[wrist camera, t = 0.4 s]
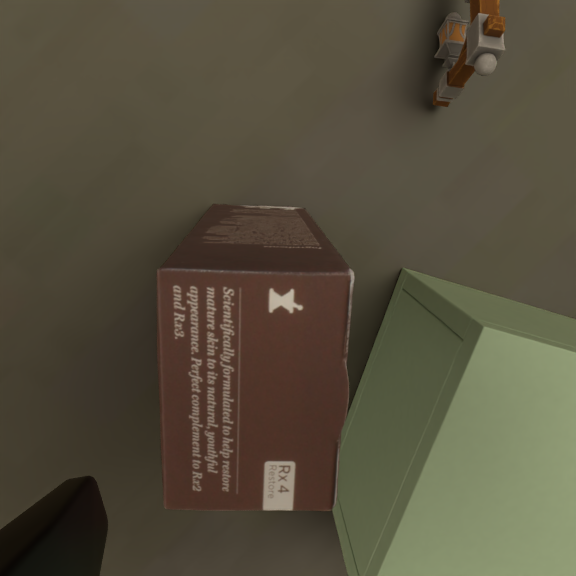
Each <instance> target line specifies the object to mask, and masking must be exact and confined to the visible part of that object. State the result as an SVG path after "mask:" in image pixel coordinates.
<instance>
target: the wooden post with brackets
mask: <svg viewBox="0 0 576 576" xmlns="http://www.w3.org/2000/svg"><path fill="white" fill-rule="evenodd" d="M465 2H467V3H470V17H471V24H470V27H469V28H468V30H467V32H466V27H467V25H468V24H469V21H467V20H461V17H460V15H459V14H458V13H456V12H455V13H450V14H449V15H448V16H447V17H446V19H445V21H444V23H443V24H442V26H441V27H440V29H439V31H438V32H437V35H438V36H439V41H440V48H439V50H438V51H437V53H436V54H435V56H434V58H439V59H445V61H444V62H445V63H444V64H443V65H442V67H447V68H448V70H447V71H446V73H445V74H444V76H443V77H442V79H441V80H440V82H439V86H438V87H437V90H436V91H435V92H434V93H433V105H437V106H444V107H448V105H449V104H450V102H452V101H453V98H454V99H456V98H457V97H458V96H459V94H460V93H461V92H462V91H463V89H464V84H465V83H466V81H467V80H468V79H469V78H470V76H471V75H472V74H473V73H474V71H476V72H477V74H479V75H481V76H486V75H489V74H491V73H492V72H493V71H494V69H495V67H496V65H497V60H498V59H499V58H500V56H501V55H502V54H503V53H504V51H505V47H504V31H505V17H500V16H499V0H465ZM465 37H466V39H465ZM451 68H452V69H451Z"/></svg>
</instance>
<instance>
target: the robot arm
mask: <svg viewBox="0 0 576 576" xmlns="http://www.w3.org/2000/svg"><path fill="white" fill-rule="evenodd" d="M107 531H108V520H107V515H106V511H105V508H104V505H103V501H102V498H101V495H100V491H99V488H98V485H97V482H96V480H95V479H94V478H93V477H92V476H84V477H78V478H73V479H69V480H66V481H65V482H63V483H62V484H61V485H59V486H58V487H57V488H55V489H54V490H53V491H51V492H50V493H49V494H47V495H46V496H45V497H43V498H42V499H41V500H39V501H38V502H37V503H35V504H34V505H33V506H31V507H30V508H29V509H27V510H26V511H25V512H23V513H22V514H21V515H19V516H18V517H17V518H15V519H14V520H13V521H11V522H10V523H9V524H7V525H6V526H5V527H3V528H2V529H1V530H0V576H99V575H100V570H101V564H102V559H103V553H104V548H105V542H106V537H107Z"/></svg>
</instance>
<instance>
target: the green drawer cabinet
mask: <svg viewBox="0 0 576 576" xmlns="http://www.w3.org/2000/svg"><path fill="white" fill-rule="evenodd" d="M332 511H333V515H334V519H335V524H336V528H337V532H338V536H339V540H340V544H341V549H342V553H343V557H344V561H345V565H346V569H347V573H348V576H576V319H574V318H570V317H567V316H563V315H560V314H557V313H553V312H550V311H547V310H543V309H540V308H537V307H533V306H530V305H527V304H523V303H520V302H516V301H513V300H510V299H506V298H503V297H500V296H496V295H493V294H490V293H486V292H483V291H480V290H476V289H473V288H469V287H466V286H463V285H459V284H456V283H453V282H449V281H446V280H443V279H439V278H436V277H433V276H429V275H426V274H422V273H419V272H416V271H412V270H409V269H406V268H402V270H401V273H400V276H399V278H398V281H397V284H396V287H395V289H394V292H393V295H392V297H391V300H390V303H389V305H388V308H387V311H386V313H385V316H384V319H383V321H382V324H381V327H380V329H379V332H378V335H377V337H376V340H375V343H374V345H373V348H372V351H371V354H370V356H369V359H368V362H367V364H366V367H365V370H364V372H363V375H362V378H361V380H360V383H359V386H358V388H357V391H356V394H355V396H354V399H353V402H352V404H351V407H350V410H349V412H348V415H347V418H346V421H345V423H344V426H343V429H342V431H341V444H340V458H339V474H338V494H337V502H336V505H335V506H334V508H333V509H332Z"/></svg>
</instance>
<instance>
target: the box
mask: <svg viewBox="0 0 576 576" xmlns="http://www.w3.org/2000/svg"><path fill="white" fill-rule="evenodd" d="M353 286H354V272H353V271H352V269H350V267H349V266H348V265H347V263H346V262H345V261H344V260H343V258H342V256H341V255H340V254H339V253H338V252H337V250H336V249H335V248H334V246H333V245H332V244H331V242H330V241H329V239H328V238H327V237H326V235H325V234H324V233H323V231H322V230H321V229H320V227H318V225H317V224H316V222H315V221H314V220H313V218H312V217H311V216H310V214H309V213H308V212H307V210H306V209H305V208H297V207H289V206H287V207H276V206H244V205H226V204H225V205H218V204H213V205H212V206H211V207H210V209H209V210H208V211H207V212H206V213H205V214H204V216H203V217H202V218H201V219H200V220H199V222H198V223H197V224H196V226H195V227H194V228H193V229H192V230H191V231H190V233H189V234H188V235H187V236H186V238H184V239H183V241H182V242H181V244H180V245H178V247H177V248H176V250H175V251H174V252H173V253H172V254H171V255H170V257H169V258H168V260H167V261H166V262H165V263H164V264H163V265H162V266H161V267H160V268H158V270H157V363H158V380H159V401H160V434H161V460H162V480H163V500H164V507H165V508H166V509H174V510H203V511H204V510H216V511H227V510H310V511H331V510H332V509H333V508H334V506H335V505H336V502H337V494H338V474H339V458H340V444H341V431H342V429H343V426H344V423H345V420H346V415H347V409H348V403H349V381H348V373H347V357H348V345H349V333H350V322H351V310H352V295H353Z"/></svg>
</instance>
